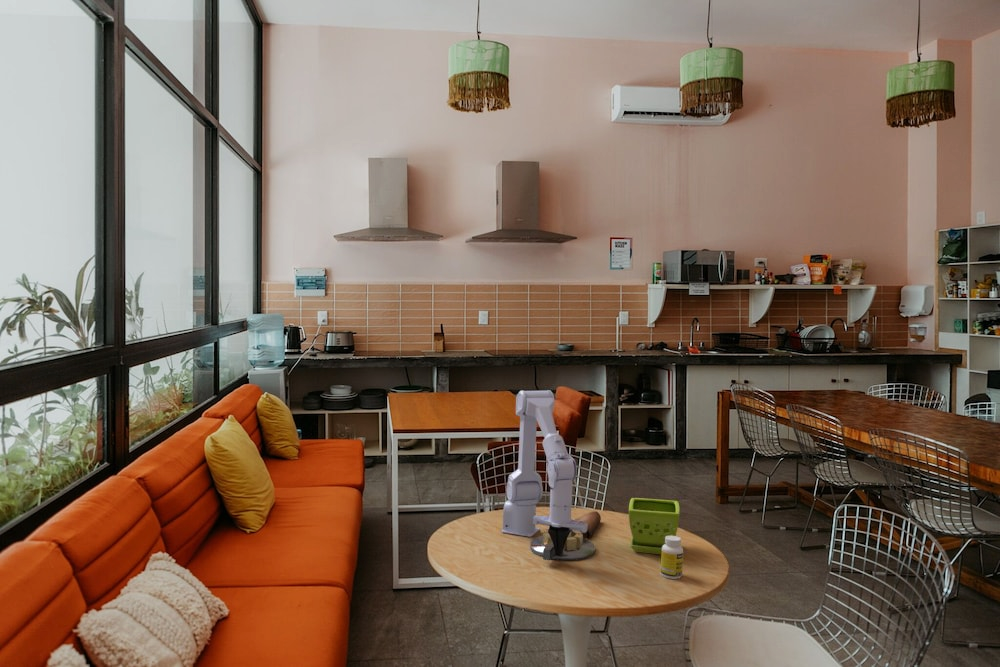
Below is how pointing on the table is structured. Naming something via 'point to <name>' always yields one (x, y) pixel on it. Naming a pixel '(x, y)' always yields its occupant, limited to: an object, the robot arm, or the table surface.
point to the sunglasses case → (590, 522)
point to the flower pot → (652, 523)
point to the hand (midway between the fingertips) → (559, 554)
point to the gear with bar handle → (570, 544)
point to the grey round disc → (570, 555)
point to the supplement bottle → (672, 558)
